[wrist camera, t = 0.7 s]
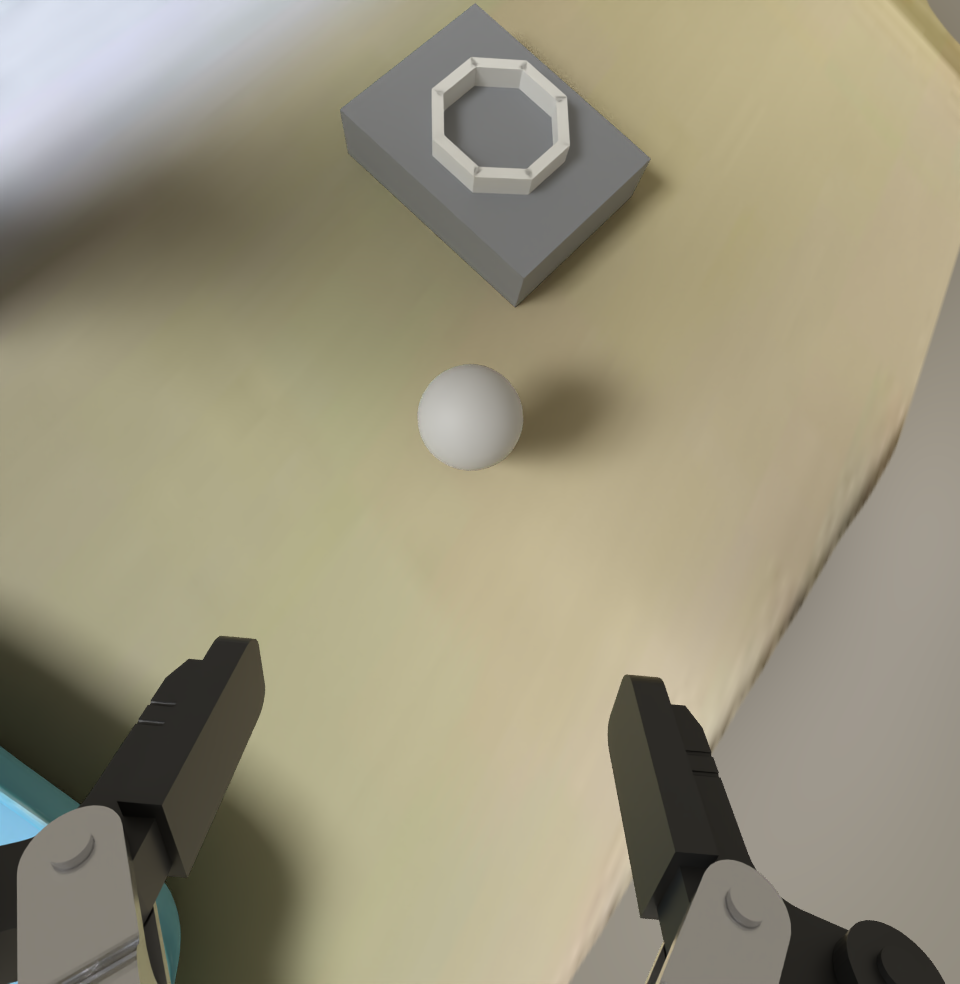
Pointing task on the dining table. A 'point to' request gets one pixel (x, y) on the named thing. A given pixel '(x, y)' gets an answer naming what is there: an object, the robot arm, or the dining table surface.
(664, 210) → the dining table surface
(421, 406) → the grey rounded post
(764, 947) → the robot arm
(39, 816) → the casserole dish
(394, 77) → the grey ring holder base
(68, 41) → the dining table surface
